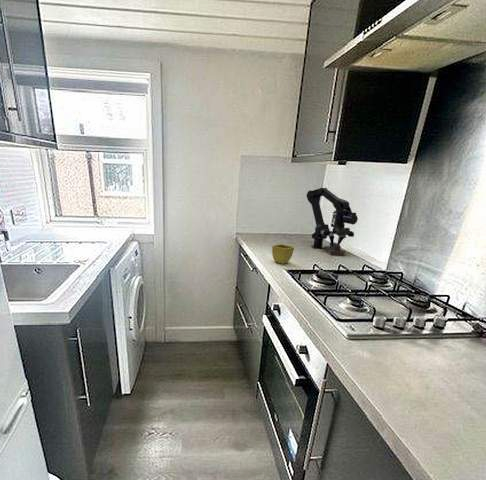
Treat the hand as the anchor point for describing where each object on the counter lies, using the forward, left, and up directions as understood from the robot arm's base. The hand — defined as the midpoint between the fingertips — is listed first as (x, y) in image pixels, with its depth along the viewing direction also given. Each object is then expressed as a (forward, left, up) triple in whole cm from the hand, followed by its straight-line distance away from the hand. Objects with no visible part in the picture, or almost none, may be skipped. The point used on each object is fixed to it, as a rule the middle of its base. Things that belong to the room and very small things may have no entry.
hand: (334, 246), depth 190 cm
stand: (0, 0, -4) cm, 4 cm away
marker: (0, 0, -2) cm, 2 cm away
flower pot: (+30, -38, -4) cm, 49 cm away
